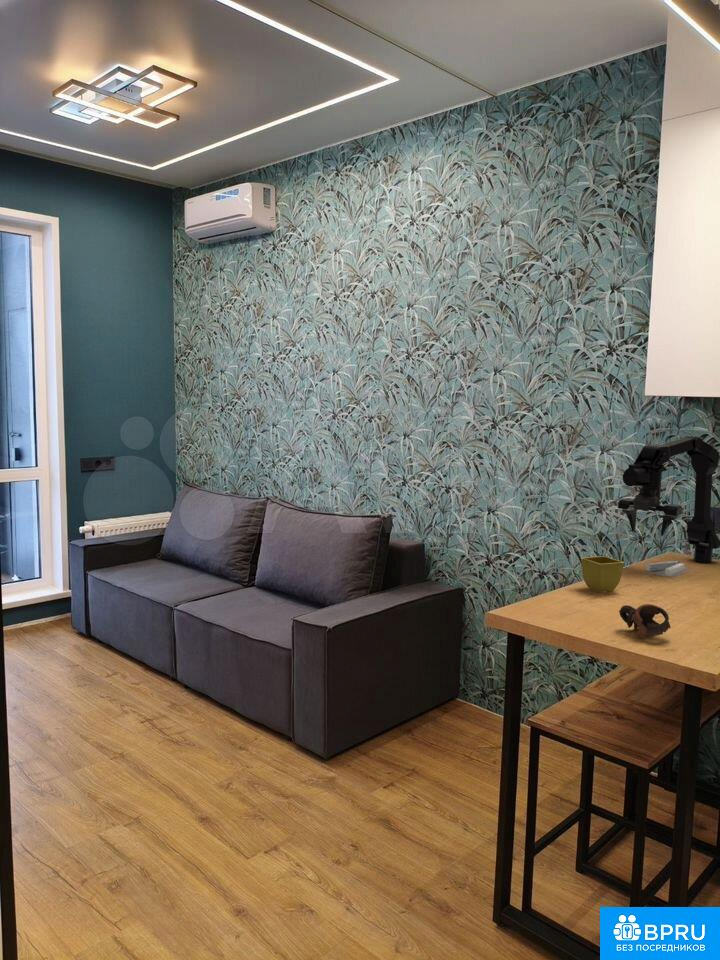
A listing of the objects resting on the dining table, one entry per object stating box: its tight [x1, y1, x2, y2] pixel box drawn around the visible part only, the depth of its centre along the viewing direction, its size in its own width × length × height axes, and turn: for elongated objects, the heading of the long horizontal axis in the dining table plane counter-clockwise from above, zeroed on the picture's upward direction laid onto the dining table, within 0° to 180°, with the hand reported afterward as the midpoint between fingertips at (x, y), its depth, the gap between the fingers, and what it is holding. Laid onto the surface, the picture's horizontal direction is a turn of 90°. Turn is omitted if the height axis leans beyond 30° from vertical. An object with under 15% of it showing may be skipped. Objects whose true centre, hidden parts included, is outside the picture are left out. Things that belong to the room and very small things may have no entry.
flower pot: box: [580, 555, 625, 593], centre depth 216 cm, size 9×9×9 cm
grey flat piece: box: [644, 562, 692, 578], centre depth 239 cm, size 16×9×3 cm, turn 137°
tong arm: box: [645, 560, 681, 571], centre depth 240 cm, size 14×2×2 cm, turn 117°
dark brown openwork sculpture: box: [618, 603, 672, 640], centre depth 178 cm, size 12×10×8 cm
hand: (647, 533), depth 239 cm, fingers open, 9 cm apart
